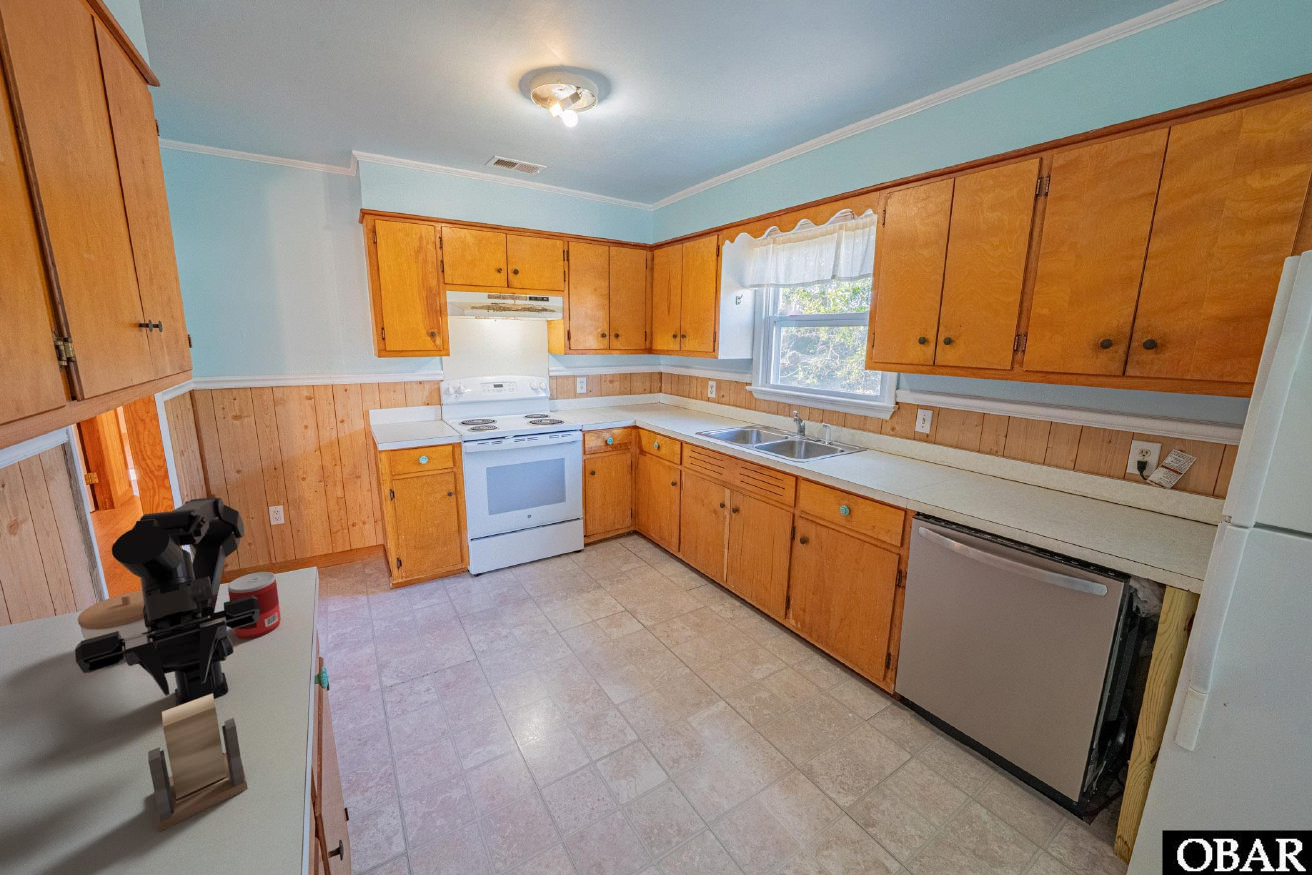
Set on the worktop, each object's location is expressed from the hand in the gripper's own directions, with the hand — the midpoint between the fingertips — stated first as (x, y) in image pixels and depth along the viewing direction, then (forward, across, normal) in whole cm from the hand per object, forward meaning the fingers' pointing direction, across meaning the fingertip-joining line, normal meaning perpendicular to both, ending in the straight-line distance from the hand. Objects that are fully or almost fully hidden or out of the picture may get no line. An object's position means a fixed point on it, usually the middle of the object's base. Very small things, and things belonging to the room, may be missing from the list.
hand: (185, 688), depth 69 cm
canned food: (-16, +12, +34) cm, 40 cm away
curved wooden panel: (+12, 0, +4) cm, 12 cm away
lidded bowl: (-22, -6, +40) cm, 46 cm away
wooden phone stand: (+13, 0, +5) cm, 14 cm away
